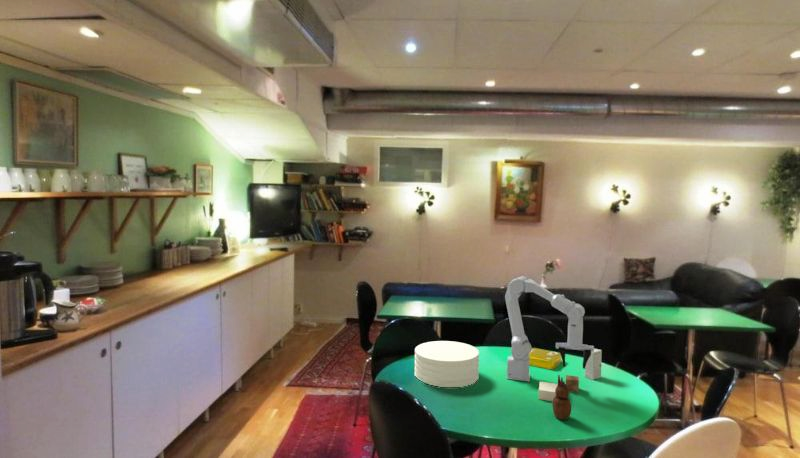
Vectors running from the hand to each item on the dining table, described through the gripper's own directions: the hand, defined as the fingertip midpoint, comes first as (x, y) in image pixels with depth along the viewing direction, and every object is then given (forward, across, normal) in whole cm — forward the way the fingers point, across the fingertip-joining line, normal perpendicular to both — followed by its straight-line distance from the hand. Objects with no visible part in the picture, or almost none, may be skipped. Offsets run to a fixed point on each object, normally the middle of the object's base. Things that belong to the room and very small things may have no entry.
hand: (573, 366), depth 193 cm
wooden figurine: (+10, -6, -28) cm, 30 cm away
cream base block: (+10, -9, -10) cm, 17 cm away
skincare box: (+10, +10, +17) cm, 22 cm away
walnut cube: (+10, 0, 0) cm, 10 cm away
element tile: (+10, -11, +30) cm, 34 cm away
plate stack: (+10, -53, 0) cm, 54 cm away
